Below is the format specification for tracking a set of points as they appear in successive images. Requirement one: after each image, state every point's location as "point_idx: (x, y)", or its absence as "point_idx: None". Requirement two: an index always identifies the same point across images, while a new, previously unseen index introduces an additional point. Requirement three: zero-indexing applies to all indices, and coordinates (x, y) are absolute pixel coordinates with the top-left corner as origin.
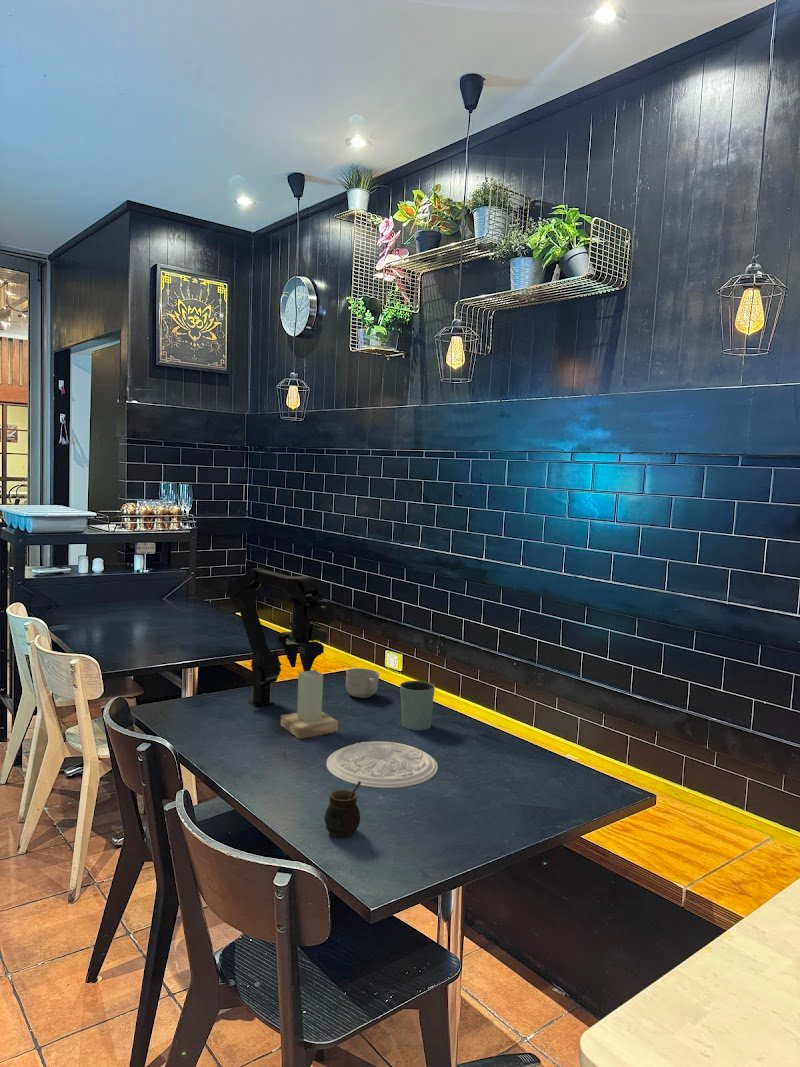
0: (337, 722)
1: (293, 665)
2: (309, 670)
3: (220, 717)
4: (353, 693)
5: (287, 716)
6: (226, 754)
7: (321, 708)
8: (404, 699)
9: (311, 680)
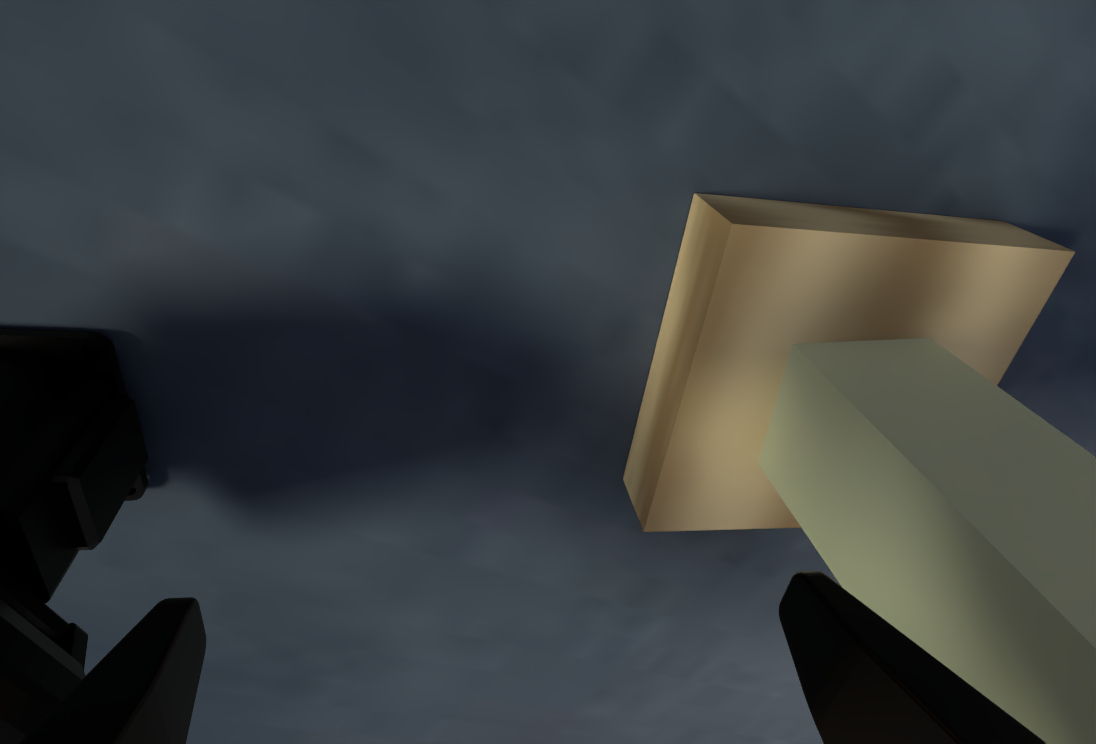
0: (1065, 256)
1: (193, 659)
2: (892, 642)
3: (295, 685)
4: None
5: (697, 507)
6: (762, 732)
7: (1000, 394)
8: None
9: None
